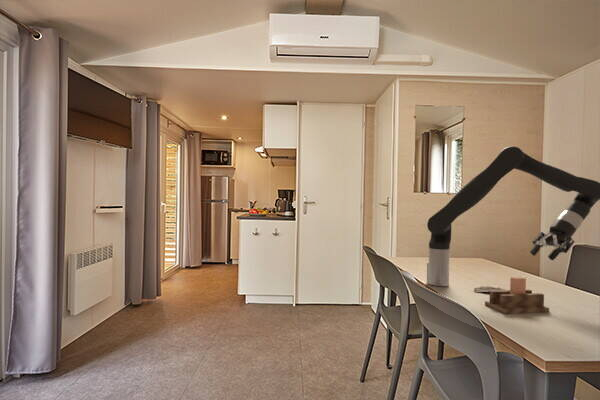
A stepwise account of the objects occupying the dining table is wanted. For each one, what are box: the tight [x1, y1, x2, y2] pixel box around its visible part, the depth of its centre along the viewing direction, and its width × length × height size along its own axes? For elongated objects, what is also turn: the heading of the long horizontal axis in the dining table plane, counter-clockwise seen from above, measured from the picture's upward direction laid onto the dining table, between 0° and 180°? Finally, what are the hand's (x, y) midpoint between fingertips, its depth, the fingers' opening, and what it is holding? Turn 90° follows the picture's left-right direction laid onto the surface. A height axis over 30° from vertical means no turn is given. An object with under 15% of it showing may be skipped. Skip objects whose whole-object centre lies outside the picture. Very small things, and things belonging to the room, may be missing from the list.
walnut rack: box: [484, 288, 550, 315], centre depth 139 cm, size 18×11×6 cm, turn 100°
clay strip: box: [509, 276, 527, 294], centre depth 139 cm, size 4×2×10 cm, turn 100°
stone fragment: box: [473, 285, 506, 293], centre depth 161 cm, size 25×3×10 cm
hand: (540, 256), depth 143 cm, fingers open, 8 cm apart
